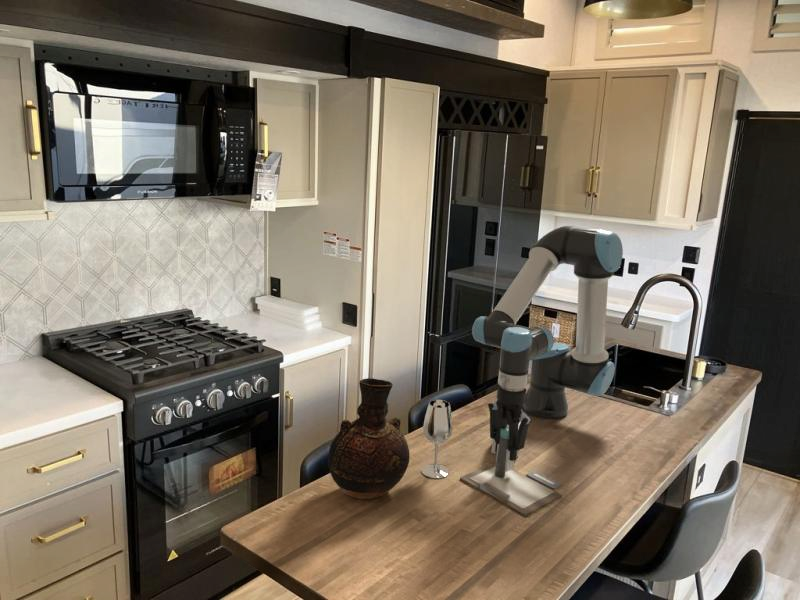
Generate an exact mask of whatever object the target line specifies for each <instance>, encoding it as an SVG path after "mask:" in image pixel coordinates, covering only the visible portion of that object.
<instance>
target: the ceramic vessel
mask: <svg viewBox="0 0 800 600" xmlns="http://www.w3.org/2000/svg"><path fill="white" fill-rule="evenodd" d="M392 388H393V383H392V382H391V381H389V380H384V379H377V378H373V377H371V378H363V379H361V380H359V391H360V394H361V395H360V396H361V400H360V401H361V402H360V404H359V405H358V407H357V409H356V410H357V411H356V413H357V415H358V418H356V419H354V420H353V421H350V420H348V419H343V420H342V421H341V423H340V429H339V431H338V432H337V434H336V435H335V436H334V438H333V439H332V441H331V443H330V446H329V450H328V455H327V456H328V457H327V464H328V470H329V473H330V476H331V478H332V480H333V482H334V483H336V485H337V486H338V487H339V489H340V490H342V491H343V492H344V493H345V494H346V495H348V496H351V497H353V498H354V499H355V498H357V499H359V500H373V499H376V498H379V497H382V496H383V495H385V494H386V493H388V492H389V491H391V490H392V489H393V488H395V487H396V485H397V484H399V482H400V481H401V480H402V478H403V477H404V475H405V473H406V471H407V469H408V467H409V464H410V448H409V444H408V442H407V439H406V438H405V436H404V434H403V433H402V431H401V430H400V427H401V419H400V418H398V417H395V418H391V419H387V418H386V416H387V415H388V413H389V404H388V399H389V398H388V397H389V395H390V393H391V389H392Z"/></svg>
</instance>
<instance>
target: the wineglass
mask: <svg viewBox="0 0 800 600" xmlns="http://www.w3.org/2000/svg"><path fill="white" fill-rule="evenodd" d="M451 409H452V408H451V404H450V402H448V401H447V400H444V399H433V400H430V401H429V403H428V406H427V409H426V413H425V415H424V421H423V428H422V429H423V434H424V436H425V438H426V440H428V441H429V442H430V443H432V444H434V462H433V463H428V464H425V465H424V466H422V467H421V470H420V472H421V474H423V475H424V476H425V477H428V478H431V479H444V478H446V477H447V476H448V475H449V474H450V472H449V469H448V468H447V467H446V466H444V465H442V464H438V453H439V451H438V450H439V446H440V445H441V444H444V443H446V442H447V441H448V440H449V439H450V438H451V436H452V434H453V416H452V410H451Z"/></svg>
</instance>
